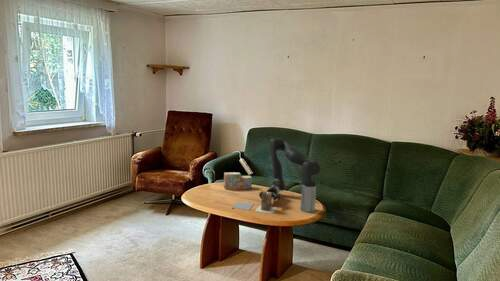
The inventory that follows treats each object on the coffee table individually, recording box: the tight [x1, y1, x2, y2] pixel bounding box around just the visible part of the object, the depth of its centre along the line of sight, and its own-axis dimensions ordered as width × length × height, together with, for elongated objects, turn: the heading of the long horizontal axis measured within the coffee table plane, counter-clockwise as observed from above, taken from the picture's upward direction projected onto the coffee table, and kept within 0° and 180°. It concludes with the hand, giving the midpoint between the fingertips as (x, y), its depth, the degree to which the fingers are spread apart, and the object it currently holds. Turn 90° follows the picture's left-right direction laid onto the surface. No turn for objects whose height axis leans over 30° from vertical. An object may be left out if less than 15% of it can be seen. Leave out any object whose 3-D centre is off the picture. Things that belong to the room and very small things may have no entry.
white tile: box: [255, 204, 278, 214], centre depth 245 cm, size 12×12×1 cm
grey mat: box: [231, 201, 255, 211], centre depth 250 cm, size 12×12×1 cm
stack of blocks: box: [223, 171, 253, 190], centre depth 293 cm, size 21×6×12 cm, turn 102°
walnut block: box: [260, 191, 273, 211], centre depth 245 cm, size 6×6×11 cm
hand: (267, 198), depth 248 cm, fingers open, 8 cm apart
